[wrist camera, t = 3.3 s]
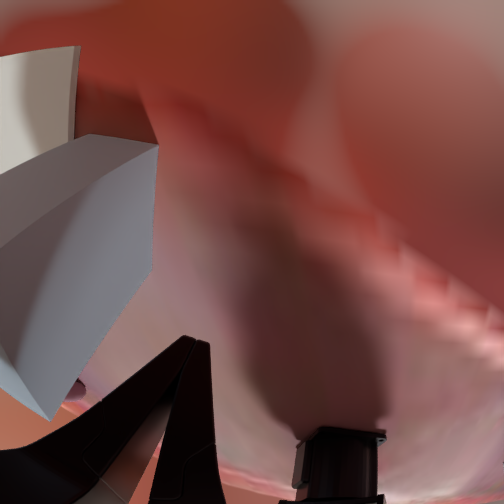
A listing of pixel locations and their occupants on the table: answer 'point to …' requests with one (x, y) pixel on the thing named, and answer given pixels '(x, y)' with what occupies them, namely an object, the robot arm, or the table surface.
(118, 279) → the slab
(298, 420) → the table surface
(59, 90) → the mat
